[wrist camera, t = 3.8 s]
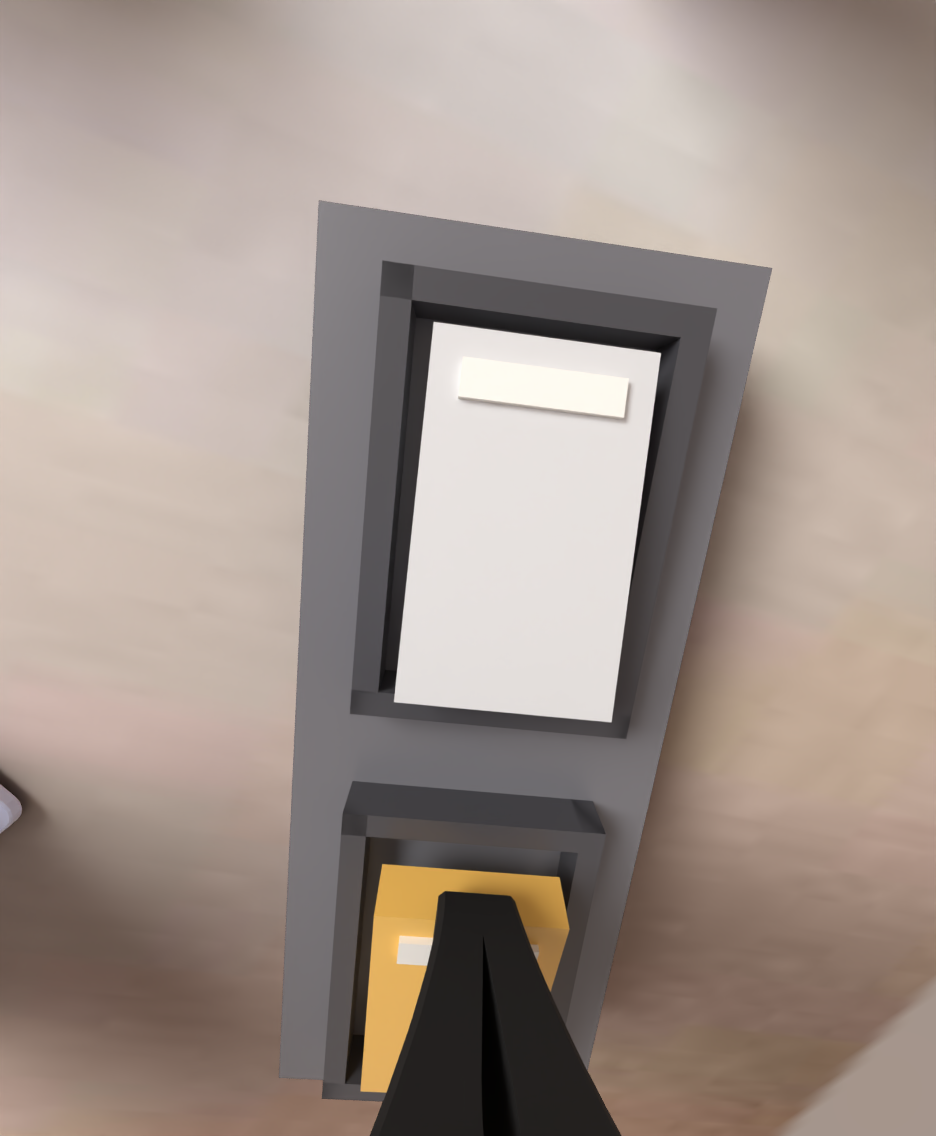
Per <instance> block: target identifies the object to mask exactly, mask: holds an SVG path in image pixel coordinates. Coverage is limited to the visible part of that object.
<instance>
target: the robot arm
mask: <svg viewBox="0 0 936 1136" xmlns="http://www.w3.org/2000/svg"><path fill="white" fill-rule="evenodd" d="M21 813H22V806H21V803H20V801H19V800H18V799H17V798H16V797H15V796H14V795H13V794H12V793H10V792H9V791H8V790H7V789H6V788H4V787H3V786H2V785H1V784H0V833H2V832H3V831H4V830H5V829H6V828H8V827H9V826H10V825H11V824H13V823H14V822H15V821H16V820H17V819H18V818H19V817H20V816H21ZM370 1136H621V1134H620V1132H619V1130H618V1129H617V1127H616V1125H615V1123H614V1121H613V1119H612V1117H611V1115H610V1114H609V1112H608V1110H607V1108H606V1106H605V1104H604V1102H603V1100H602V1098H601V1096H600V1094H599V1092H598V1091H597V1089H596V1087H595V1085H594V1083H593V1081H592V1079H591V1077H590V1075H589V1073H588V1071H587V1069H586V1067H585V1065H584V1063H583V1061H582V1059H581V1057H580V1055H579V1053H578V1051H577V1049H576V1047H575V1045H574V1043H573V1040H572V1038H571V1036H570V1034H569V1032H568V1030H567V1027H566V1025H565V1023H564V1021H563V1019H562V1017H561V1014H560V1012H559V1010H558V1008H557V1006H556V1004H555V1001H554V999H553V997H552V995H551V993H550V990H549V988H548V986H547V983H546V981H545V979H544V976H543V974H542V972H541V969H540V967H539V964H538V962H537V959H536V957H535V955H534V952H533V949H532V947H531V944H530V942H529V939H528V937H527V934H526V931H525V929H524V926H523V923H522V920H521V917H520V914H519V912H518V909H517V905H516V902H515V901H514V899H513V898H512V897H511V896H508V895H494V894H481V893H467V892H453V891H444V892H443V893H442V894H440V895H439V896H438V903H437V911H436V919H435V927H434V934H433V943H432V947H431V951H430V956H429V960H428V964H427V968H426V972H425V975H424V979H423V982H422V986H421V989H420V993H419V996H418V1000H417V1003H416V1006H415V1010H414V1013H413V1017H412V1020H411V1023H410V1026H409V1029H408V1032H407V1035H406V1038H405V1041H404V1044H403V1047H402V1049H401V1052H400V1055H399V1058H398V1061H397V1064H396V1067H395V1070H394V1072H393V1075H392V1078H391V1081H390V1084H389V1087H388V1090H387V1092H386V1095H385V1098H384V1100H383V1103H382V1106H381V1108H380V1111H379V1113H378V1116H377V1119H376V1121H375V1124H374V1126H373V1129H372V1132H371V1134H370Z"/></svg>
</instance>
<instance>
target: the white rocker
mask: <svg viewBox="0 0 936 1136" xmlns="http://www.w3.org/2000/svg"><path fill="white" fill-rule="evenodd" d="M660 357H661V353H657V352H650V351H643V350H635V349H628V348H621V347H613V346H606V345H599V344H592V343H584V342H577V341H570V340H562V339H555V338H548V337H541V336H533V335H526V334H519V333H511V332H504V331H497V330H490V329H482V328H475V327H468V326H460V325H453V324H446V323H439V322H434V324H433V334H432V343H431V353H430V362H429V372H428V381H427V391H426V401H425V410H424V420H423V429H422V439H421V448H420V458H419V467H418V477H417V486H416V496H415V505H414V515H413V524H412V534H411V544H410V553H409V563H408V572H407V582H406V591H405V601H404V610H403V620H402V629H401V639H400V648H399V658H398V667H397V677H396V686H395V696H394V702H397V703H408V704H419V705H429V706H440V707H451V708H462V709H473V710H483V711H494V712H505V713H516V714H526V715H537V716H548V717H559V718H570V719H580V720H591V721H602V722H612V715H613V707H614V700H615V692H616V685H617V677H618V670H619V663H620V655H621V648H622V640H623V633H624V625H625V618H626V610H627V603H628V595H629V588H630V580H631V573H632V566H633V558H634V551H635V543H636V536H637V528H638V521H639V513H640V506H641V498H642V491H643V483H644V476H645V469H646V461H647V454H648V446H649V439H650V431H651V424H652V416H653V409H654V401H655V394H656V386H657V379H658V372H659V364H660Z"/></svg>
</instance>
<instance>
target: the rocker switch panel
mask: <svg viewBox="0 0 936 1136" xmlns="http://www.w3.org/2000/svg"><path fill="white" fill-rule="evenodd" d="M771 271H772V268H768V267H761V266H755V265H748V264H741V263H735V262H728V261H721V260H714V259H708V258H701V257H694V256H688V255H681V254H674V253H668V252H661V251H654V250H647V249H641V248H634V247H627V246H621V245H614V244H607V243H601V242H594V241H587V240H580V239H574V238H567V237H560V236H554V235H547V234H540V233H534V232H527V231H520V230H513V229H507V228H500V227H493V226H487V225H480V224H473V223H467V222H460V221H453V220H447V219H440V218H433V217H426V216H420V215H413V214H406V213H400V212H393V211H386V210H380V209H373V208H366V207H359V206H353V205H346V204H339V203H333V202H326V201H319V207H318V229H317V251H316V273H315V295H314V317H313V339H312V361H311V383H310V405H309V427H308V449H307V471H306V493H305V515H304V538H303V560H302V582H301V604H300V626H299V648H298V670H297V692H296V714H295V736H294V758H293V780H292V802H291V824H290V846H289V868H288V890H287V912H286V935H285V957H284V979H283V1001H282V1023H281V1045H280V1067H279V1078H294V1079H315V1080H323V1091H322V1099H340V1100H362V1101H383V1100H384V1098H385V1095H386V1093H384V1092H363V1091H361V1078H362V1065H363V1052H364V1038H365V1025H366V1012H367V999H368V986H369V973H370V960H371V947H372V934H373V921H374V912H375V906H376V900H377V894H378V887H379V881H380V875H381V869H382V864H388V865H401V866H415V867H428V868H442V869H455V870H469V871H483V872H496V873H510V874H523V875H537V876H550V877H560V882H561V888H562V893H563V898H564V903H565V908H566V913H567V918H568V924H569V929H570V930H569V933H568V936H567V939H566V943H565V946H564V949H563V952H562V956H561V959H560V962H559V966H558V969H557V972H556V975H555V979H554V982H553V985H552V989H551V992H550V993H551V995H552V997H553V999H554V1001H555V1004H556V1006H557V1008H558V1010H559V1012H560V1014H561V1017H562V1019H563V1021H564V1023H565V1025H566V1027H567V1030H568V1032H569V1034H570V1036H571V1038H572V1040H573V1043H574V1045H575V1047H576V1049H577V1051H578V1053H579V1055H580V1057H581V1059H582V1061H583V1063H584V1065H585V1067H586V1069H587V1070H588V1066H589V1061H590V1057H591V1053H592V1048H593V1044H594V1040H595V1035H596V1031H597V1027H598V1022H599V1018H600V1014H601V1009H602V1005H603V1001H604V996H605V992H606V988H607V983H608V979H609V974H610V970H611V966H612V961H613V957H614V953H615V948H616V944H617V940H618V935H619V931H620V927H621V922H622V918H623V914H624V909H625V905H626V901H627V896H628V892H629V888H630V883H631V879H632V875H633V870H634V866H635V862H636V857H637V853H638V849H639V844H640V840H641V836H642V831H643V827H644V823H645V818H646V814H647V810H648V805H649V801H650V796H651V792H652V788H653V783H654V779H655V775H656V770H657V766H658V762H659V757H660V753H661V749H662V744H663V740H664V736H665V731H666V727H667V723H668V718H669V714H670V710H671V705H672V701H673V697H674V692H675V688H676V684H677V679H678V675H679V671H680V666H681V662H682V658H683V653H684V649H685V645H686V640H687V636H688V632H689V627H690V623H691V619H692V614H693V610H694V605H695V601H696V597H697V592H698V588H699V584H700V579H701V575H702V571H703V566H704V562H705V558H706V553H707V549H708V545H709V540H710V536H711V532H712V527H713V523H714V519H715V514H716V510H717V506H718V501H719V497H720V493H721V488H722V484H723V480H724V475H725V471H726V467H727V462H728V458H729V454H730V449H731V445H732V441H733V436H734V432H735V427H736V423H737V419H738V414H739V410H740V406H741V401H742V397H743V393H744V388H745V384H746V380H747V375H748V371H749V367H750V362H751V358H752V354H753V349H754V345H755V341H756V336H757V332H758V328H759V323H760V319H761V315H762V310H763V306H764V302H765V297H766V293H767V289H768V284H769V280H770V276H771ZM434 322H439V323H446V324H453V325H460V326H468V327H475V328H482V329H490V330H497V331H504V332H511V333H519V334H526V335H533V336H541V337H548V338H555V339H562V340H570V341H577V342H584V343H592V344H599V345H606V346H613V347H621V348H628V349H635V350H643V351H650V352H657V353H661V357H660V364H659V372H658V379H657V386H656V394H655V401H654V409H653V416H652V424H651V431H650V439H649V446H648V454H647V461H646V469H645V476H644V483H643V491H642V498H641V506H640V513H639V521H638V528H637V536H636V543H635V551H634V558H633V566H632V573H631V580H630V588H629V595H628V603H627V610H626V618H625V625H624V633H623V640H622V648H621V655H620V663H619V670H618V677H617V685H616V692H615V700H614V707H613V715H612V722H602V721H591V720H580V719H570V718H559V717H548V716H537V715H526V714H516V713H505V712H494V711H483V710H473V709H462V708H451V707H440V706H429V705H419V704H408V703H397V702H394V696H395V686H396V677H397V667H398V658H399V648H400V639H401V629H402V620H403V610H404V601H405V591H406V582H407V572H408V563H409V553H410V544H411V534H412V524H413V515H414V505H415V496H416V486H417V477H418V467H419V458H420V448H421V439H422V429H423V420H424V410H425V401H426V391H427V381H428V372H429V362H430V353H431V343H432V334H433V324H434Z"/></svg>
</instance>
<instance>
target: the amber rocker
mask: <svg viewBox="0 0 936 1136" xmlns="http://www.w3.org/2000/svg"><path fill="white" fill-rule="evenodd" d="M444 891H453V892H467V893H481V894H494V895H508V896H511V897H512V898H513V899H514V901H515V902H516V905H517V909H518V912H519V914H520V917H521V920H522V923H523V926H524V929H525V931H526V934H527V937H528V939H529V942H530V944H531V947H532V949H533V952H534V955H535V957H536V959H537V962H538V964H539V967H540V969H541V972H542V974H543V976H544V979H545V981H546V983H547V986H548V988H549V990H550V992H551V989H552V985H553V982H554V979H555V975H556V972H557V969H558V966H559V962H560V959H561V956H562V952H563V949H564V946H565V943H566V939H567V936H568V933H569V930H570V929H569V924H568V918H567V913H566V908H565V903H564V898H563V893H562V888H561V882H560V877H550V876H537V875H523V874H510V873H496V872H483V871H469V870H455V869H442V868H428V867H415V866H401V865H388V864H382V869H381V875H380V881H379V887H378V894H377V900H376V906H375V912H374V921H373V934H372V947H371V960H370V973H369V986H368V999H367V1012H366V1025H365V1038H364V1052H363V1065H362V1078H361V1091H363V1092H384V1093H386V1092H387V1090H388V1087H389V1084H390V1081H391V1078H392V1075H393V1072H394V1070H395V1067H396V1064H397V1061H398V1058H399V1055H400V1052H401V1049H402V1047H403V1044H404V1041H405V1038H406V1035H407V1032H408V1029H409V1026H410V1023H411V1020H412V1017H413V1013H414V1010H415V1006H416V1003H417V1000H418V996H419V993H420V989H421V986H422V982H423V979H424V975H425V972H426V968H427V964H428V960H429V956H430V951H431V947H432V943H433V934H434V927H435V919H436V911H437V903H438V896H439V895H440V894H442V893H443V892H444Z"/></svg>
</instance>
